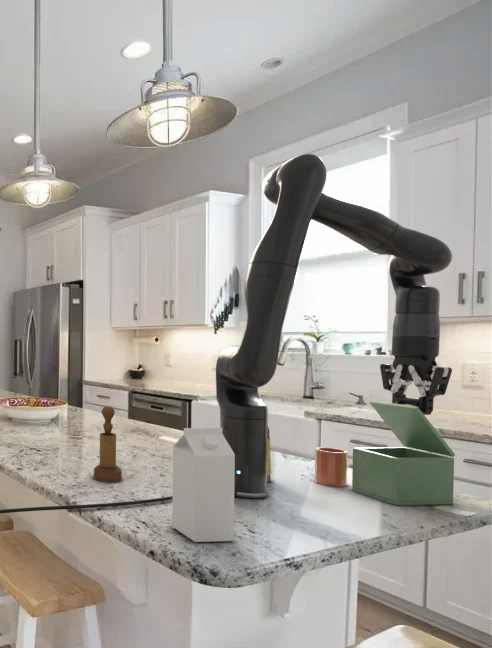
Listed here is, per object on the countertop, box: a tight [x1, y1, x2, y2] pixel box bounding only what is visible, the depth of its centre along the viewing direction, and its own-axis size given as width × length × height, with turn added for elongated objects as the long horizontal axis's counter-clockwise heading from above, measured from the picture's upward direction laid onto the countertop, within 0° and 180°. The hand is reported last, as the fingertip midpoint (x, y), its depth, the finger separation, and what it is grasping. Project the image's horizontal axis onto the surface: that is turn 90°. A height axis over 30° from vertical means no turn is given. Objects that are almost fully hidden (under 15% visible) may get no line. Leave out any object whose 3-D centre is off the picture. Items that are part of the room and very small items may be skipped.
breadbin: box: [351, 446, 455, 506], centre depth 110 cm, size 13×11×10 cm
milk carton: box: [171, 427, 235, 543], centre depth 89 cm, size 7×7×19 cm
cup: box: [314, 446, 348, 488], centre depth 120 cm, size 6×6×8 cm
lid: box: [368, 396, 456, 458], centre depth 110 cm, size 13×11×5 cm
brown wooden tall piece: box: [93, 405, 123, 483], centre depth 125 cm, size 7×6×18 cm
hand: (411, 412), depth 110 cm, fingers closed on lid, 5 cm apart
